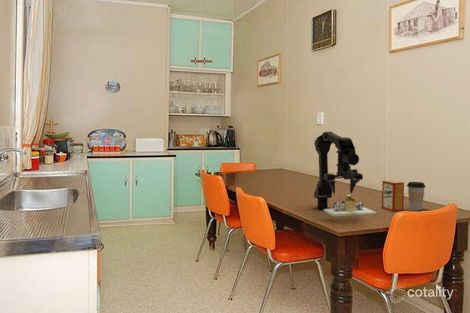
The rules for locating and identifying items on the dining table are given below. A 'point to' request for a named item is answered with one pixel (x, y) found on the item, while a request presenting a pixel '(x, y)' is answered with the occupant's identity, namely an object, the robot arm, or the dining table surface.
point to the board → (350, 212)
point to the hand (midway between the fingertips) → (342, 193)
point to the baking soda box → (392, 195)
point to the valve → (348, 205)
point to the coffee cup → (416, 195)
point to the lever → (351, 198)
